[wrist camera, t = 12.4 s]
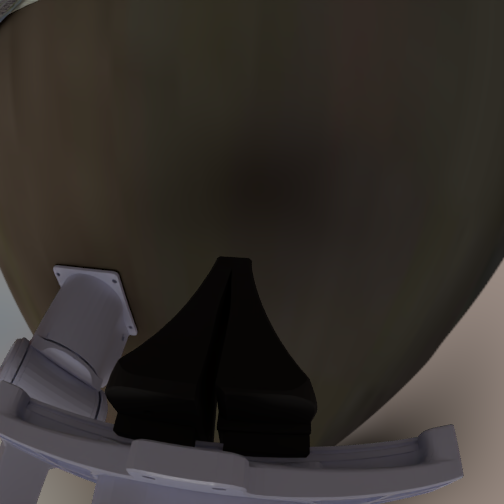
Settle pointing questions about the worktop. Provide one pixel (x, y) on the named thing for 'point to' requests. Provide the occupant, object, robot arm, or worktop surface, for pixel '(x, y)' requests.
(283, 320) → the worktop surface
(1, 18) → the snack box
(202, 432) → the robot arm
